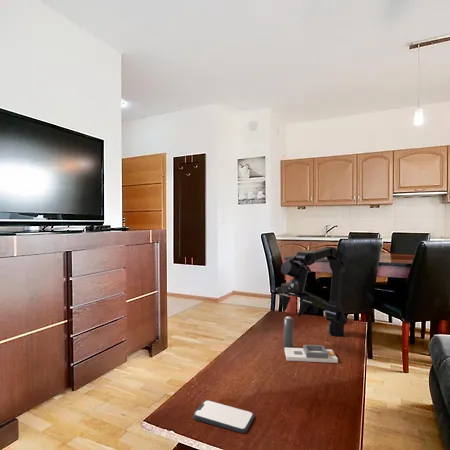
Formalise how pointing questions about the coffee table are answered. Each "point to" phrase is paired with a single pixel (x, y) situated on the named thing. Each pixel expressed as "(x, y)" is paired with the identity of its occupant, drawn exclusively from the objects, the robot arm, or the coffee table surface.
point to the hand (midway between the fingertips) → (291, 314)
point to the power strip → (311, 354)
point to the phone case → (224, 416)
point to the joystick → (288, 332)
